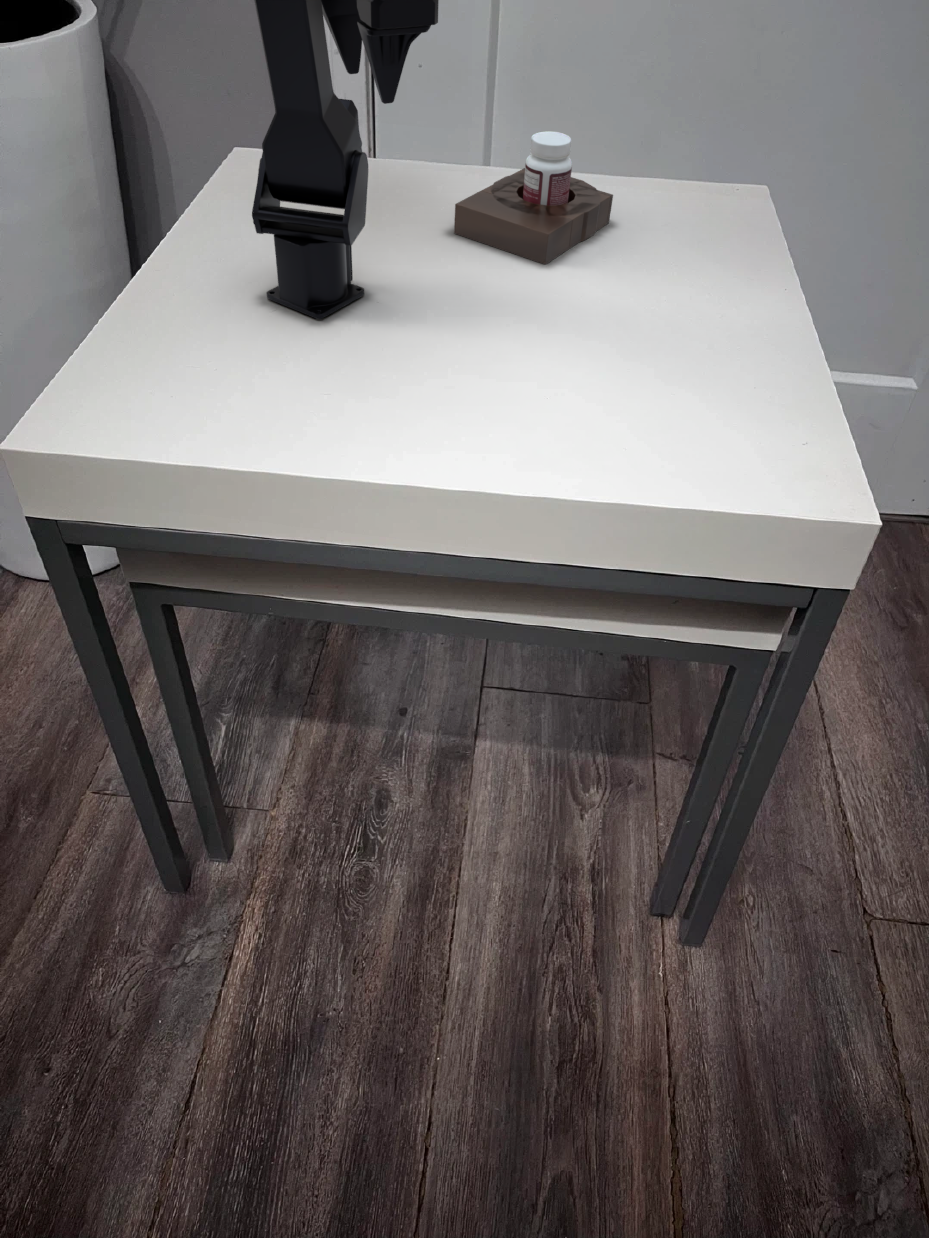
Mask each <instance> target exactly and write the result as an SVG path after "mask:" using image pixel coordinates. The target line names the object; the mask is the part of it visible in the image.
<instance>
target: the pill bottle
mask: <svg viewBox="0 0 929 1238" xmlns="http://www.w3.org/2000/svg"><path fill="white" fill-rule="evenodd" d="M529 149H530V150H529V151H530V154H529V155H528V156H527V157H526V160H525V164H524V168H525V177H524V190H523V200H525V201H528V202H531V203H534V204H540V205H548V206H549V205H562V204H566V203H568V197H569V188H570V179H571V177H572V171H573V162H572V159H571V158H570V155H571V149H572V138H571V136H570V135H568V134H565V133H562V132H559V131H548V130H547V131H539V132H536V133H533V135H531V137H530V148H529Z"/></svg>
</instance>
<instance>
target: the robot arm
mask: <svg viewBox="0 0 929 1238" xmlns="http://www.w3.org/2000/svg"><path fill="white" fill-rule="evenodd" d="M253 1H254V5H255V11H256V17H257V21H258V26H259V31H260V36H261V37H260V38H261V42H262V48H263V53H264V58H265V63H266V68H267V73H268V78H269V85H270V89H271V95H272V100H273V105H274V115H273V117H272V120H271V122H270V124H269V126H268V128H267V131H266V134H265V135H264V137H263V141H262V143H261V149H262V152H261V153H262V154H261V157H260V158H259V164H258V173H257V181H256V187H255V192H254V199H253V204H252V209H251V210H252V211H251V217H252V223H253V225H254V229H255V232H256V234H257V235H264V234H266V235H267V234H268V235H273V244H274V253H275V264H276V275H277V286H275V287H273V288H271V289H269V290H267V291H266V298H267V299H268V300H270V301H273V302H274V303H277V304H280V305H281V306H284V307H287V308H290V309H292V310H295V311H297V312H298V313H302V314H304V315H307V316H309V317H312V318H314V319H318V320H319V319H324V318H325V317H327V316H329V315H331V314H333V313H334V312H336V311H338V310H340V309H342V308H344V307H345V306H347V305H349V304H351V303H352V302H354V301H356V300H358V299H359V298H361V297H363V296H364V295H365V288H364V287H362V286H359V285H356V284H355V283H352V281H353V279H354V277H353V251H352V245H353V244H354V243H355V241H356V239H357V238H358V236H359V235H360V233H361V232H362V231H363V229H364V228H365V226H366V216H367V199H368V187H369V186H368V185H369V160H368V155H367V153H366V152H365V151H363V141H362V138H361V131H360V125H359V124H360V123H359V111H358V108H357V107H356V104H355V102H354V101H353V100H352V99H345V98H338V97H339V96H337V95H336V94H335V93H334V88H333V87H334V86H333V81H332V79H333V78H332V73H331V65H330V58H329V51H328V43H327V35H326V27H325V23H326V25H327V27H328V29H329V33H330V34H331V37H332V39H333V42H334V44H335V46H336V49H337V51H338V53H339V56H340V59H341V61H342V63H343V66H344V68H345V71H346V72H347V73H348V74H349V75H356V74H359V73H360V66H361V59H362V47H363V46H364V50H365V53H366V57H367V60H368V63H369V67H370V70H371V73H372V77H373V80H374V84H375V87H376V89H377V92H378V93H377V94H378V95H379V99H380V102H381V103H382V104H385V105H386V104H392V103H394V102H395V99H396V95H397V90H398V88H399V85H400V84H399V83H400V80H401V77H402V74H403V69H404V67H405V63H406V59H407V56H408V54H409V50H410V47H411V45H412V43H413V42H414V41H415V40H417V38H419V37H420V35H421V34H425V33H428V31H429V30H430V29H431V27H432V26H435V25H437V24H438V23H439V1H440V0H253ZM324 20H325V22H324ZM281 202H282V203H291V204H299V205H307V206H314V207H321V208H322V207H323V208H331V209H338V210H344V211H343V214H341V213H333V212H326V211H325V212H324V211H317V210H310V209H301V208H294V207H285V206H281Z"/></svg>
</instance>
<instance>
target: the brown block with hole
mask: <svg viewBox="0 0 929 1238" xmlns="http://www.w3.org/2000/svg"><path fill="white" fill-rule="evenodd" d="M524 177H525V167H524V168H521V169H520V170H517V171H516V172H514V173H512V174H510V175H506V176H504V177H502V178H500V179H498V180H496V181H495V182H493V184H491V185H489V186H487V187H485V188H483V189H482V190H479V191H478V192H476V193H473V194H471V195H469V196H468V197H466V198H464V199H462V200H460V201H458V202H457V203H455V204H454V225H453V233H454V234H455V235H458V236H461V237H464V238H467V239H469V240H471V241H476V242H477V243H481V244H484V245H487V246H490V247H492V248H496V249H498V250H502V251H505V252H507V253H511V254H513V255H517V256H518V257H522V258H525V259H528V260H531V261H534V262H537V263H540V264H543V265H547V264H548V263H550V262H552V261H553V260H555V259H556V258H557V257H559V256H561V255H562V254H564V253H565V252H567V251H568V250H570V249H571V248H573V247H574V246H576V245H578V244H579V243H581V242H584V241H587V240H588V239H590V238H591V237H592V236H594V235H595V234H596V233H597V232H598V231H599V230H601V229H602V228H604V227H605V226H607V225H609V224H610V220H611V219H610V218H611V214H612V213H611V212H612V205H613V199H614V194H613V193H609V192H605V191H603V190H599V189H597V188H596V187H595V186H593V185H592V184H590V183H588V182H586V181H585V180H583V179H579V178H576V177H572V176H571V179H570V188H569V197H568V203H566V204H562V205H549V206H548V205H540V204H534V203H531V202H528V201H525V200H523V190H524Z"/></svg>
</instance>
